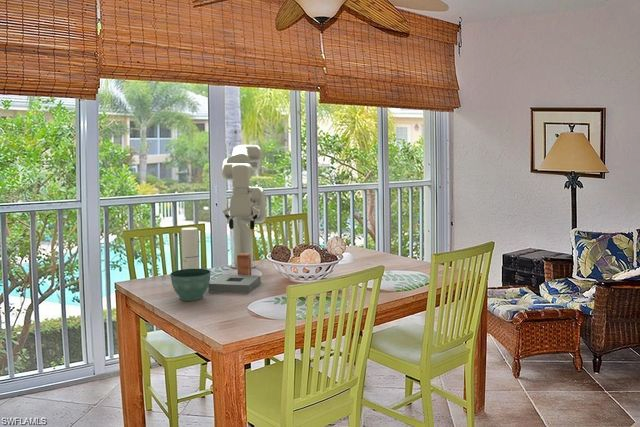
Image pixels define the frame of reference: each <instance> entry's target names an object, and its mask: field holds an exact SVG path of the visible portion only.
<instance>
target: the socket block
mask: <svg viewBox="0 0 640 427" xmlns="http://www.w3.org/2000/svg"><path fill="white" fill-rule="evenodd" d="M261 280H262V279H261V275H256V274H254V275H253V274H251V275H238V274H231V273H230V274H227V273H226V274H224V273H221V275H219V276H217V277H216V278H214V279H213V280H211V281H210V282H209V286H208V288H207V290H208V292H209V293H231V294H234V293H235V294H250V293H252V291H253V290H255V289H256V288H257V287H258V286H259V285H260V284H262V282H261Z"/></svg>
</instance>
